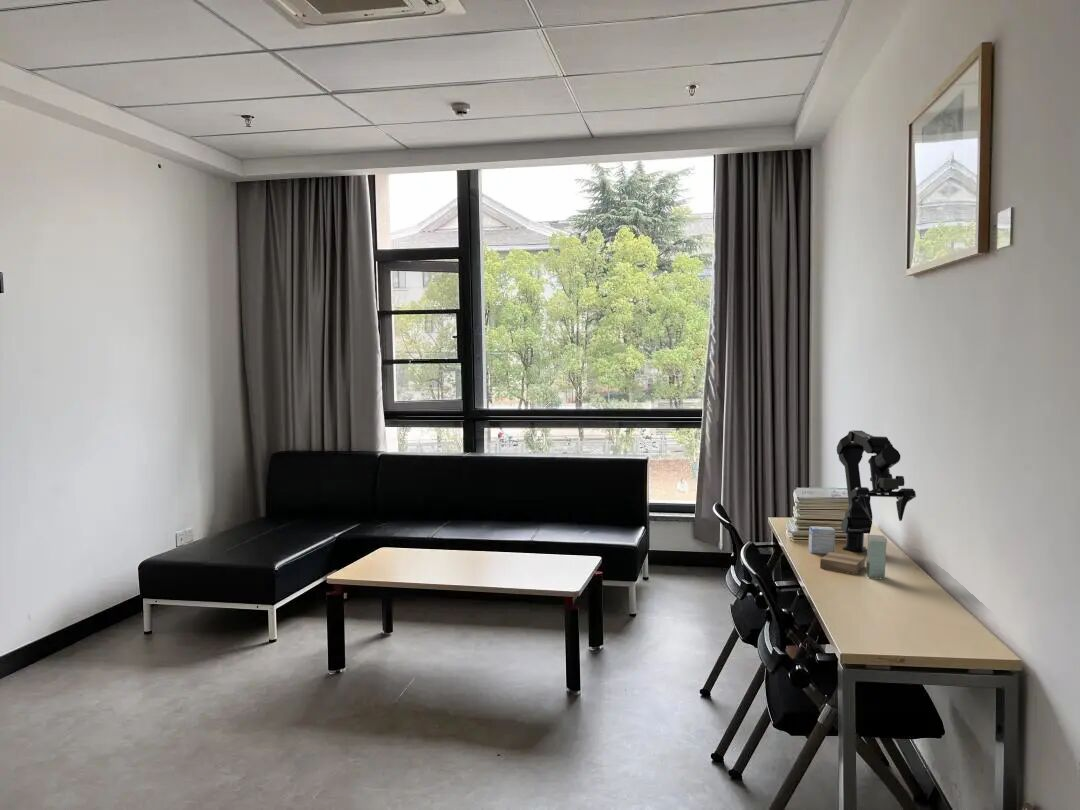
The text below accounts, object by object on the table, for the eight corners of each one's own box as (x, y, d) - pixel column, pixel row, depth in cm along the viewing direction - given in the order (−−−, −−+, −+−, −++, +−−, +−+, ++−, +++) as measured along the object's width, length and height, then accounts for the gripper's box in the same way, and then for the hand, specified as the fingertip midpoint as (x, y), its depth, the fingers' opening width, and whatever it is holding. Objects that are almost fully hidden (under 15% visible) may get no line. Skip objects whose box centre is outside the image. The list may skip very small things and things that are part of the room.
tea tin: (865, 573, 244) (867, 534, 243) (881, 575, 243) (883, 535, 242) (868, 578, 240) (870, 538, 239) (884, 579, 239) (887, 539, 238)
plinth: (830, 560, 259) (830, 551, 259) (864, 566, 252) (865, 557, 252) (820, 567, 250) (820, 558, 250) (855, 574, 244) (855, 565, 243)
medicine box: (831, 551, 271) (832, 526, 270) (834, 554, 266) (835, 530, 266) (807, 550, 272) (809, 526, 271) (811, 553, 267) (812, 529, 266)
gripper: (859, 465, 245) (865, 513, 240) (919, 467, 244) (926, 515, 239) (848, 474, 255) (853, 521, 250) (905, 476, 255) (911, 523, 249)
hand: (886, 520), depth 247 cm, fingers open, 9 cm apart
